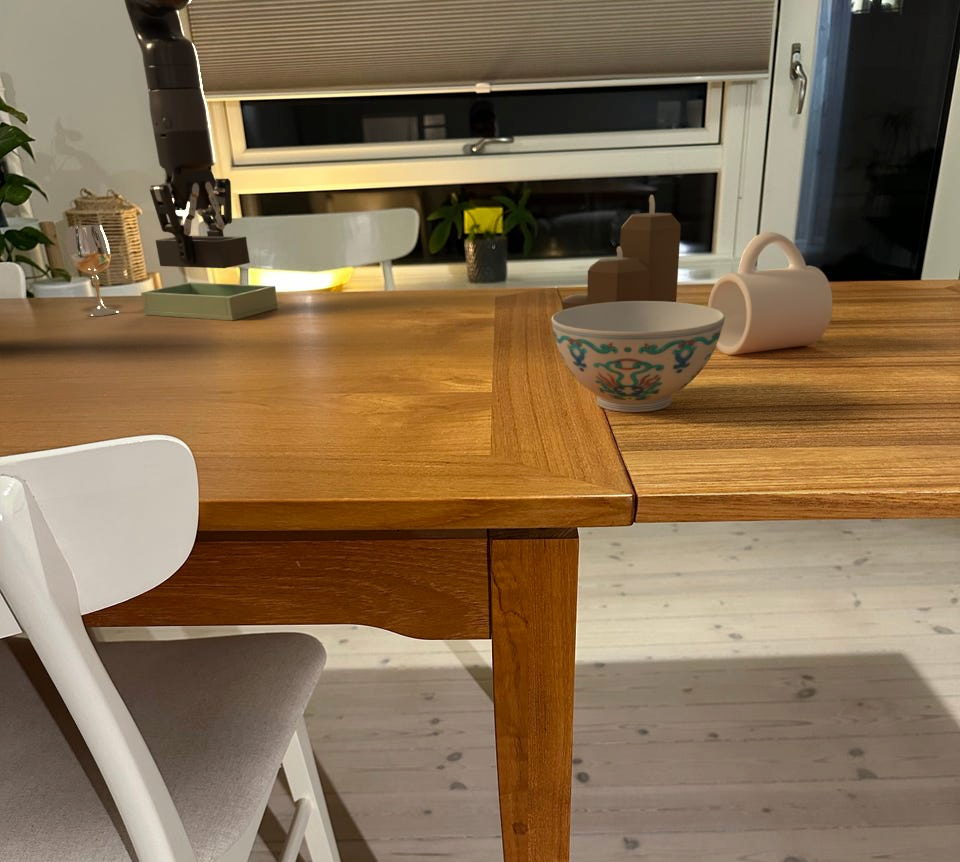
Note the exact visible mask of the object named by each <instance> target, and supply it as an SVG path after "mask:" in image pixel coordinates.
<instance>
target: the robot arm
mask: <svg viewBox="0 0 960 862" xmlns="http://www.w3.org/2000/svg"><path fill="white" fill-rule="evenodd" d="M191 1H192V0H124V4H125V8H126V11H127V15H128V18H129V20H130V23H131V27H132V29H133V32H134V35H135V38H136V41H137V43H138V46H139V48H140V51H141V54H142V55H141V56H142V63H143V68H144V74H145V80H146V85H147V92H148V100H149V101H148V103H149V105H148V106H149V113H150V120H151V124H152V131H153V136H154V137H153V138H154V142H155V147H156V153H157V158H158V163H159V164H158V165H159V166H160V167H161V168H162V169H163V170H164V172H165V179H164V183H161V184H153V185H152V184H151V185H150V187H149V193H150V197H151V199H152V202H153V205H154V209H155V212H156V215H157V218H158V219H157V220H158V221H159V225H160V229H161V230H162V232H164V233H169V234H172V235H173V237H175V238H176V243H177V249H178V254H179V258H180V260H181V262H182V263H183V264H186V265H192V264H195V263H196V257H195V251H194V245H193V238H192V236H193V235H191V233H192V232H191V231H192V223H193V220H194V219H195V218H196V213H197V214H198V215H199V216H200V217H201V218H202V221H203V222H204V225H205V227H206V229H207V230H206V233H207V234H206V236H225V235H224V230H225V228H226V226H227V225H229V224H232V223H233V208H232V186H231V185H232V183H231V180H230V179H229V178H216V176H215V174H214V173H213V169H212V167H213V166H215V165H216V155H215V149H214V143H213V137H212V136H213V135H212V130H211V122H210V117H209V110H208V106H207V101H206V97H205V95H204V90H203V84H202V78H201V72H200V63H199V59H198V53H197V50H196V48H195V45H194V44H193V42H192V41H191V40H190V39H188V38H187V37H185V34H184V30H183V27H182V22H181V19H180V16H179V12H181V11H182V10H184V9H185V8H186V7H187V6H188V5H189V4H190V3H191ZM222 206H223V214H222Z"/></svg>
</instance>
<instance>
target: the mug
mask: <svg viewBox="0 0 960 862" xmlns="http://www.w3.org/2000/svg"><path fill="white" fill-rule="evenodd" d="M770 244H776V245H777V246H778V247H779V248H780V249H781V250H782V252H783V253H784V255H785V256H786V259H787V260H788V263H789V265H788V267H784V268H783V267H782V268H781V267H780V268H771V269H761V270H755V267H756V264H757V261H758V258H759V256H760V255H761V253H762V252H763V250H764V249H765V248H766V247H767V246H768V245H770ZM805 261H806V260H805V259H804V256H803V255H802V252H801V251H800V249H799V248H798V247H797V246H796V245H795V243H794V242H793V241H792V240H790V239H789V238H788V237H786V236H785V235H783V234H780V233H778V232H773V231H766V232H761V233H759V234H757V235H755V236H754V237H753V238H752V239H751V240H750V241H749V242H748V244H747V245H746V247H745V248H744V250H743V253H742V255H741V259H740V262H739V265H738V271H737V272H731V273H730V272H729V273H726V274H724V275H722V276H721V277H720V278H718V280H717V281H716V282H715V283H714V285H713V287H712V289H711V291H710V294H709V298H708V302H707V307H711V308H714V309H717V310H719V311H721V312H722V313H723V314H724V315H725V319H724V324H723V327H722V331H721V334H720V337H719V340H718V342H717V345H716V347H715V348H716V349H717V350H718V351H720V352H721V353H723V354H724V355H728V356H733V355H734V356H735V355H742V354H750V353H757V352H765V351H774V350H781V349H782V350H783V349H789V348H796V347H804V346H811V345H813V344H815V343H817V342H818V341H819V340H820V339H822V337H823V336H824V335H825V333H826V331H827V329H828V327H829V326H830V323H831V318H832V315H833V305H834V303H833V300H834V299H833V292H832V289H831V288H832V287H831V285H830V282H829V280H828V278H827V276H826V275H825V273H824V272H823V271H822V270H821V269H820V268H819V267H816V266H814V265H813V266H812V265H806V262H805Z"/></svg>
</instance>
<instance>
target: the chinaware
mask: <svg viewBox="0 0 960 862" xmlns="http://www.w3.org/2000/svg"><path fill="white" fill-rule="evenodd" d="M724 319H725V315H724V314H723V313H722V312H721V311H719V310H717V309H714V308H711V307H708V305H701V304H696V303H687V302H679V301H676V302H663V301H626V302H609V303H598V304H590V305H583V306H578V307H573V308H569V309H565V310H560V311H558V312H555V313H554V314H553V315H552V316H551V326H552V331H553V337H554V339H555V343H556V345H557V349H558V351H559V355H560V356H561V358H562V361H563V362H564V364H565V366H566V367H567V369H568V371H569V372H570V373H571V375H572V376H573V377H574V378H575V379H576V381H578V382H579V383H580V384H581V385H582V387H585V388H586V389H587V391H590V392H591V393H593V394H594V395H596V404H597V405H598V406H599V407H600V408H602V409H605V410H608V411H614V412H619V413H645V412H646V413H647V412H656V411H659V410H663V409H665V408H668V407H669V406H670V405H671V404H672V396H673V395H675V394H676V393H678V392H680V391H681V390H682V389H684V388H685V387H687V386H688V385H689V384H690V383H691V382H692V381H693V380H694V379H695V378H696V377H697V376H698V375H699V374H700V373H701V372H702V370H703V369H704V368H705V366H706V365H707V364H708V362H709V360H710V359H711V357H712V355H713V353H714V351H715V349H716V348H717V347H716V345H717V342H718V340H719V337H720V334H721V331H722V327H723V324H724Z"/></svg>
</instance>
